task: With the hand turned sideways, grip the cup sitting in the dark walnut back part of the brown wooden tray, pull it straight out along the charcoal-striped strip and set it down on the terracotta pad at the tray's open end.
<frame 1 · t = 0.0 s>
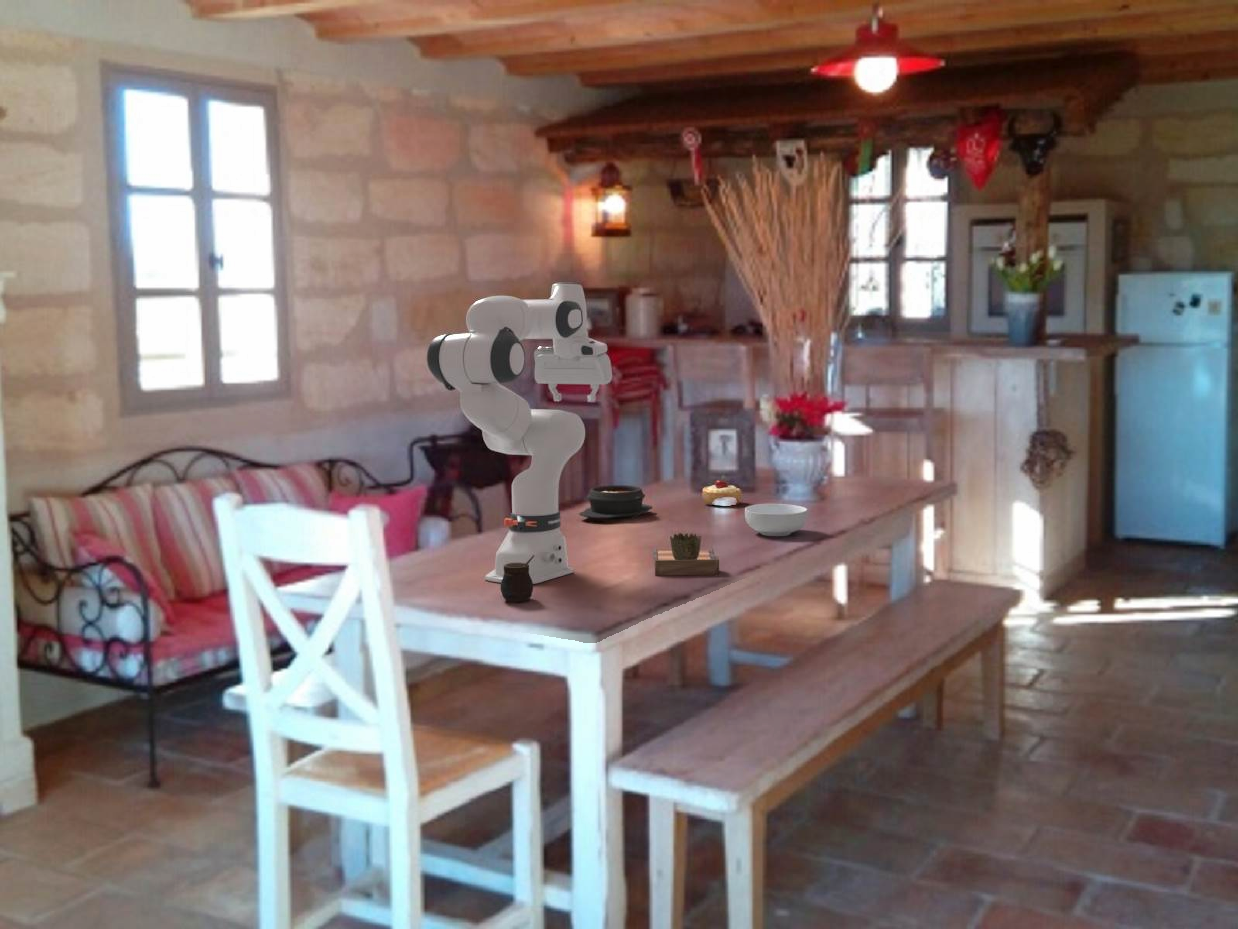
hand: (574, 401, 355), 39 cm above the table, tool pointing down, fingers open, 8 cm apart
brown wooden tray: (685, 568, 339), on the table
cereal bowl: (776, 534, 381), on the table
mate gourd: (517, 601, 309), on the table
pastry: (721, 505, 430), on the table
cup: (685, 569, 339), resting in brown wooden tray
casserole: (616, 517, 412), on the table
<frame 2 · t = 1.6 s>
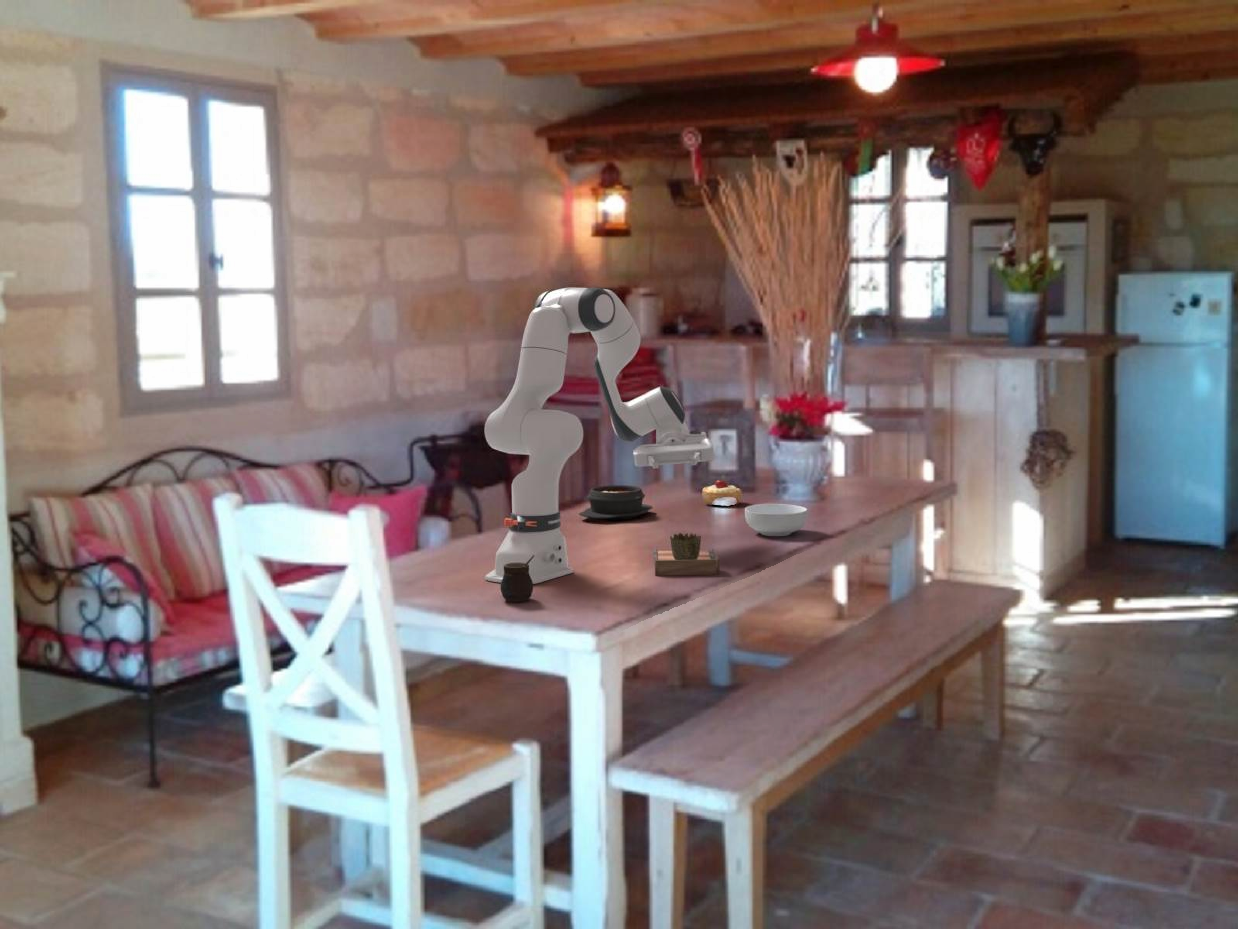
hand: (674, 463, 350), 23 cm above the table, tool horizontal, fingers open, 8 cm apart
nothing on the table moved.
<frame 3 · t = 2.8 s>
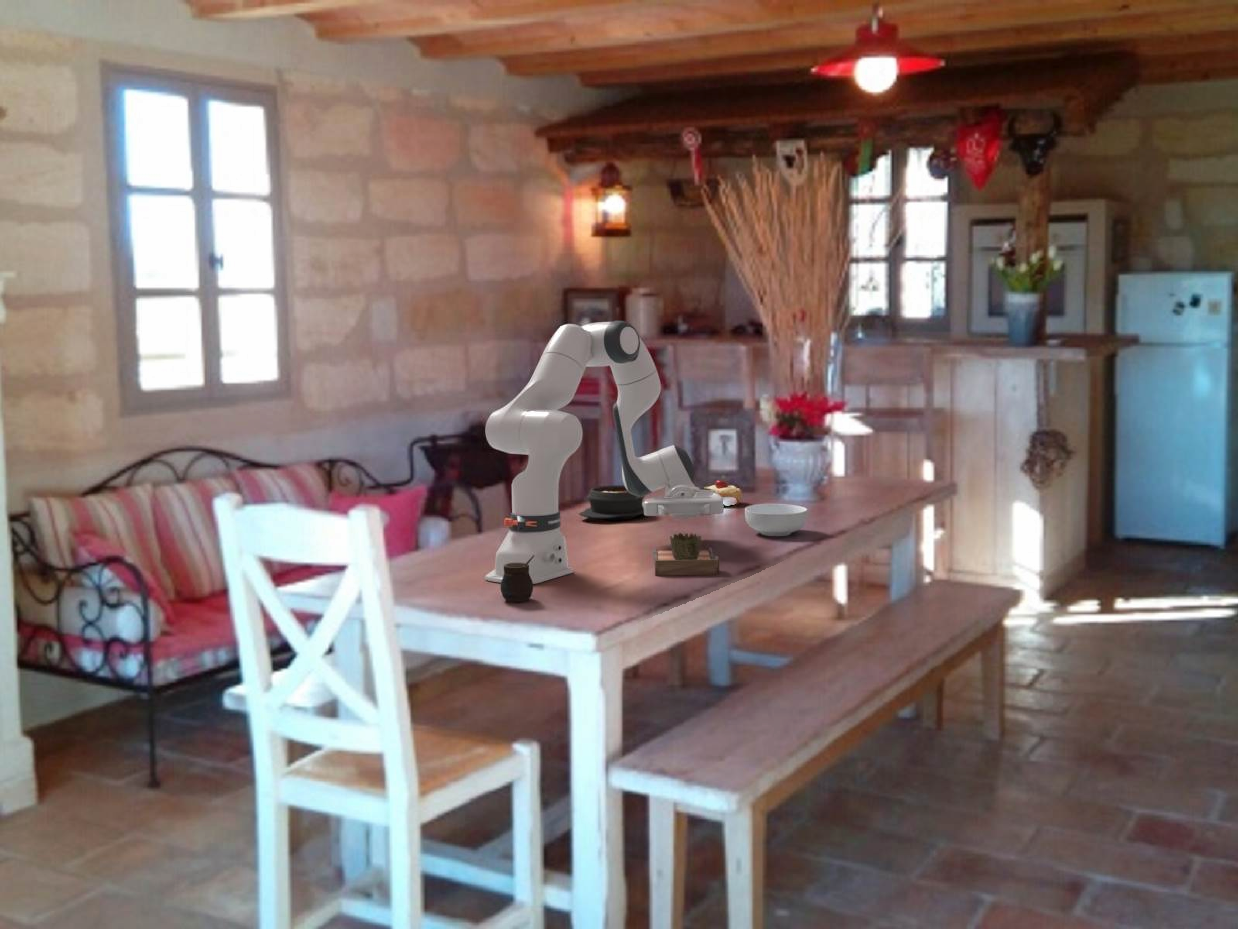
hand: (684, 511, 349), 12 cm above the table, tool horizontal, fingers open, 8 cm apart
nothing on the table moved.
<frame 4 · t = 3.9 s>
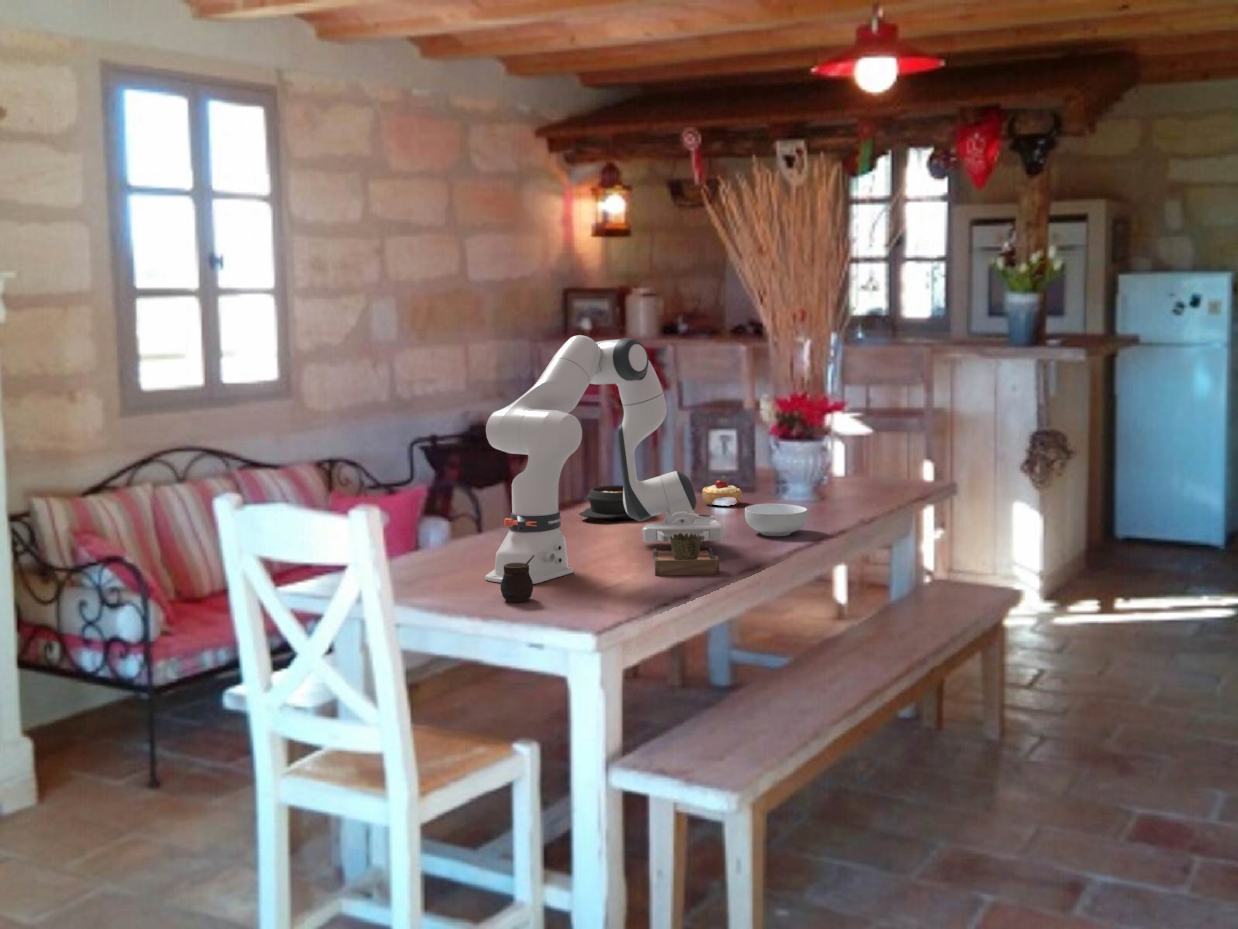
hand: (683, 538, 349), 5 cm above the table, tool horizontal, fingers open, 8 cm apart
nothing on the table moved.
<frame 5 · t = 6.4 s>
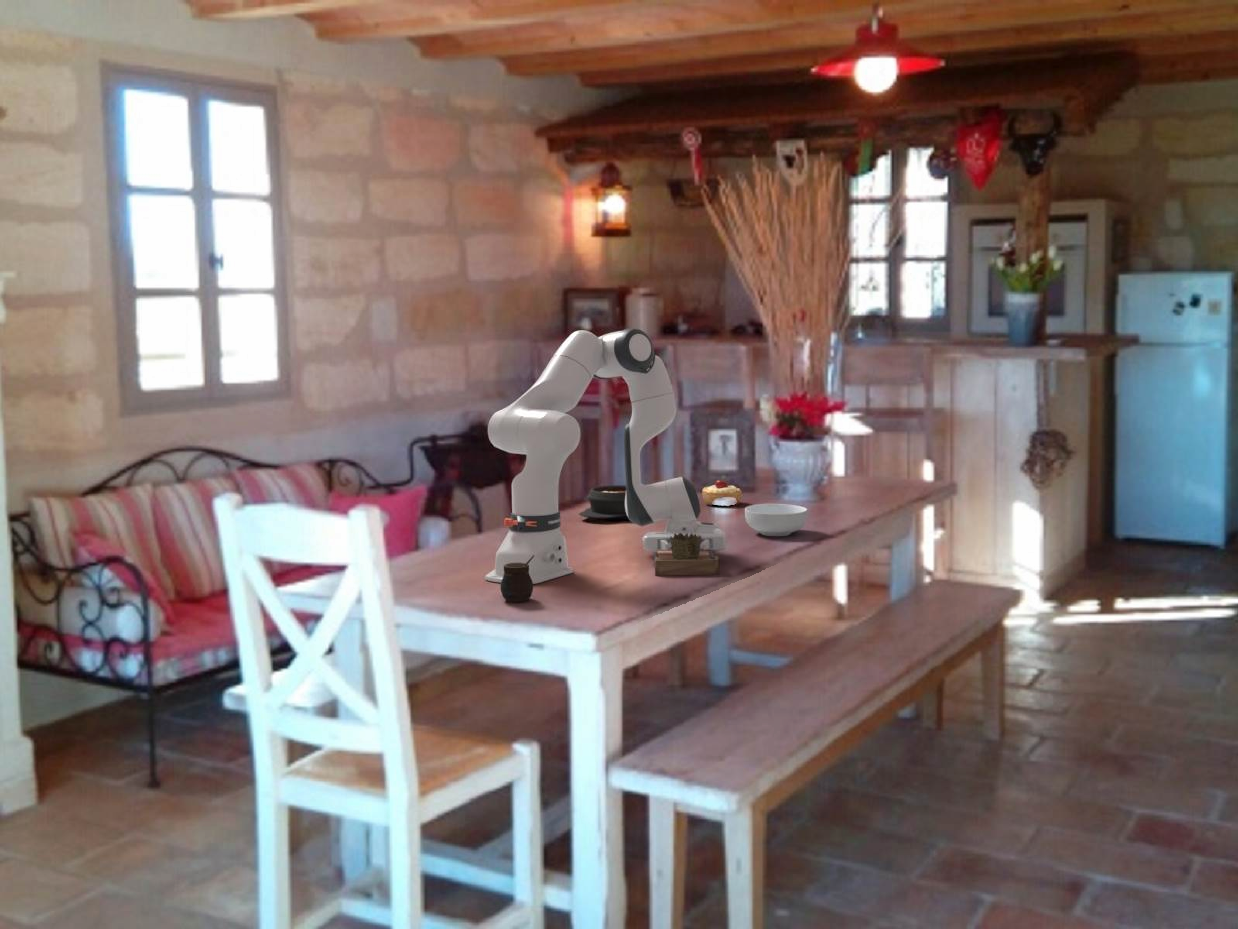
hand: (685, 547, 337), 5 cm above the table, tool horizontal, fingers closed on cup, 7 cm apart
cup: (685, 569, 339), resting in brown wooden tray, touching gripper
everything else where it was.
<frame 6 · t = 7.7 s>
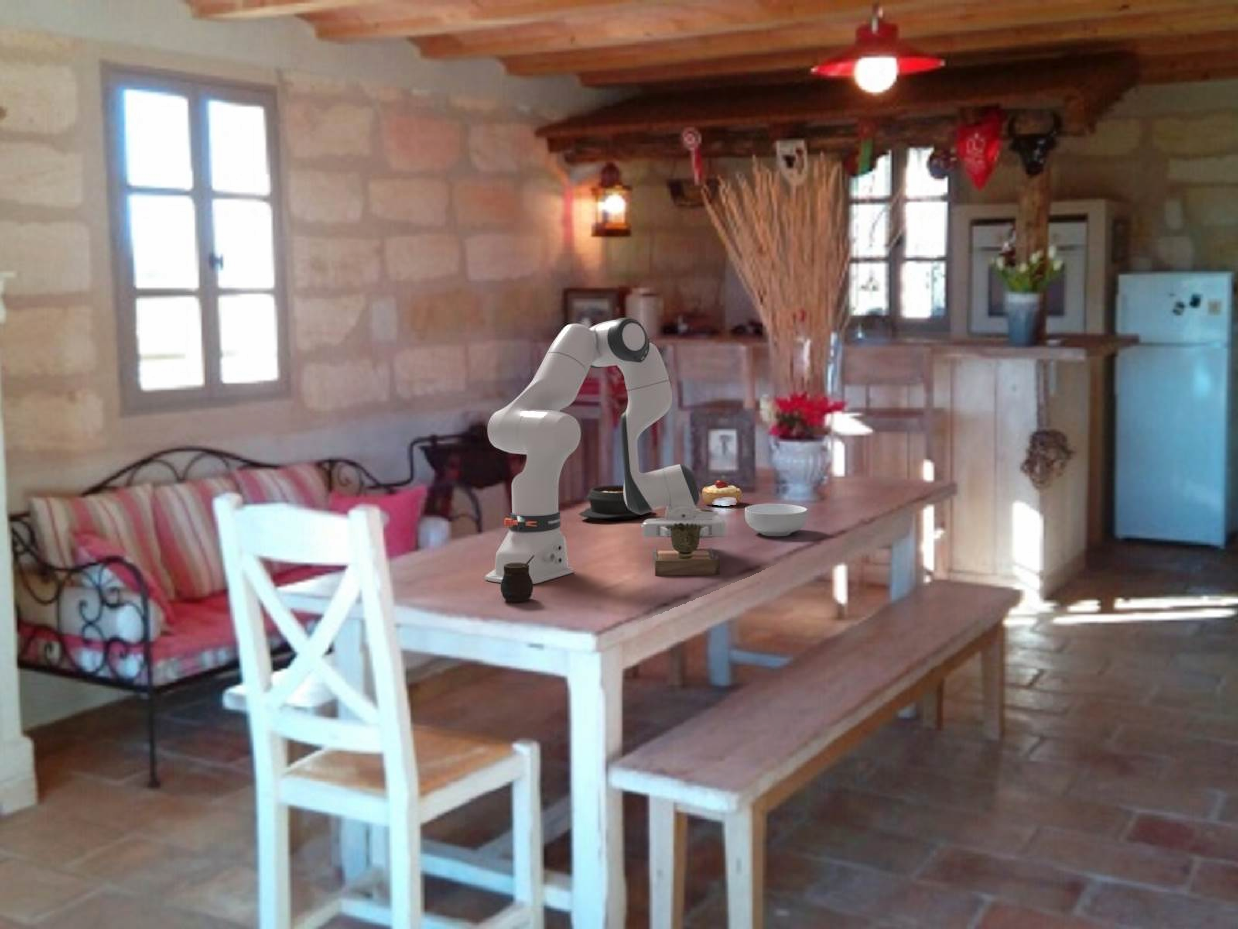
hand: (684, 533, 336), 9 cm above the table, tool horizontal, fingers closed on cup, 7 cm apart
cup: (685, 559, 338), point 2 cm above the table, touching gripper
everything else where it was.
when the fingers open (6 cm above the table, at t = 12.5 s): cup stays where it is, resting on brown wooden tray.
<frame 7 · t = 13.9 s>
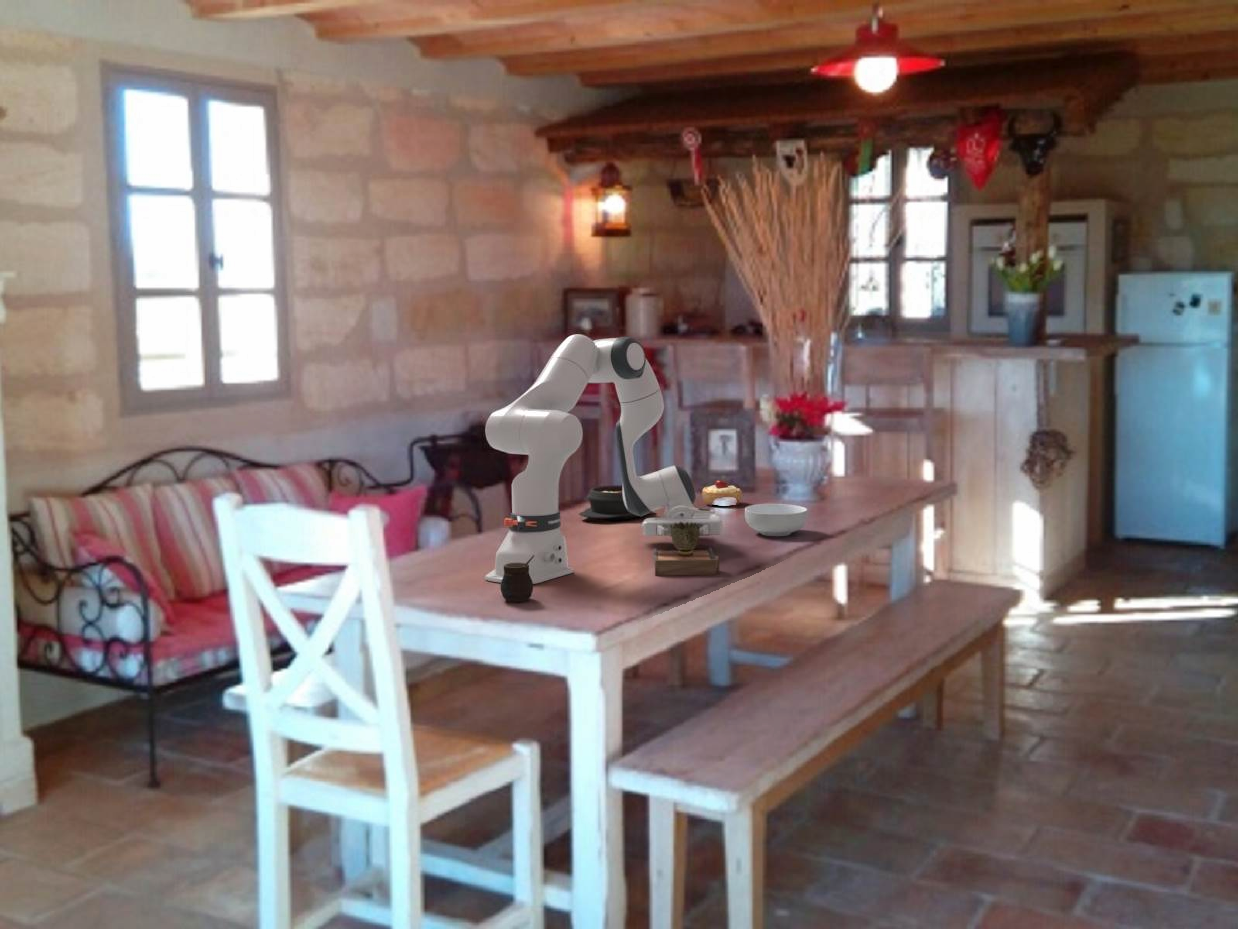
hand: (683, 532, 351), 6 cm above the table, tool horizontal, fingers open, 8 cm apart
cup: (685, 556, 353), resting on brown wooden tray, touching gripper
everything else where it was.
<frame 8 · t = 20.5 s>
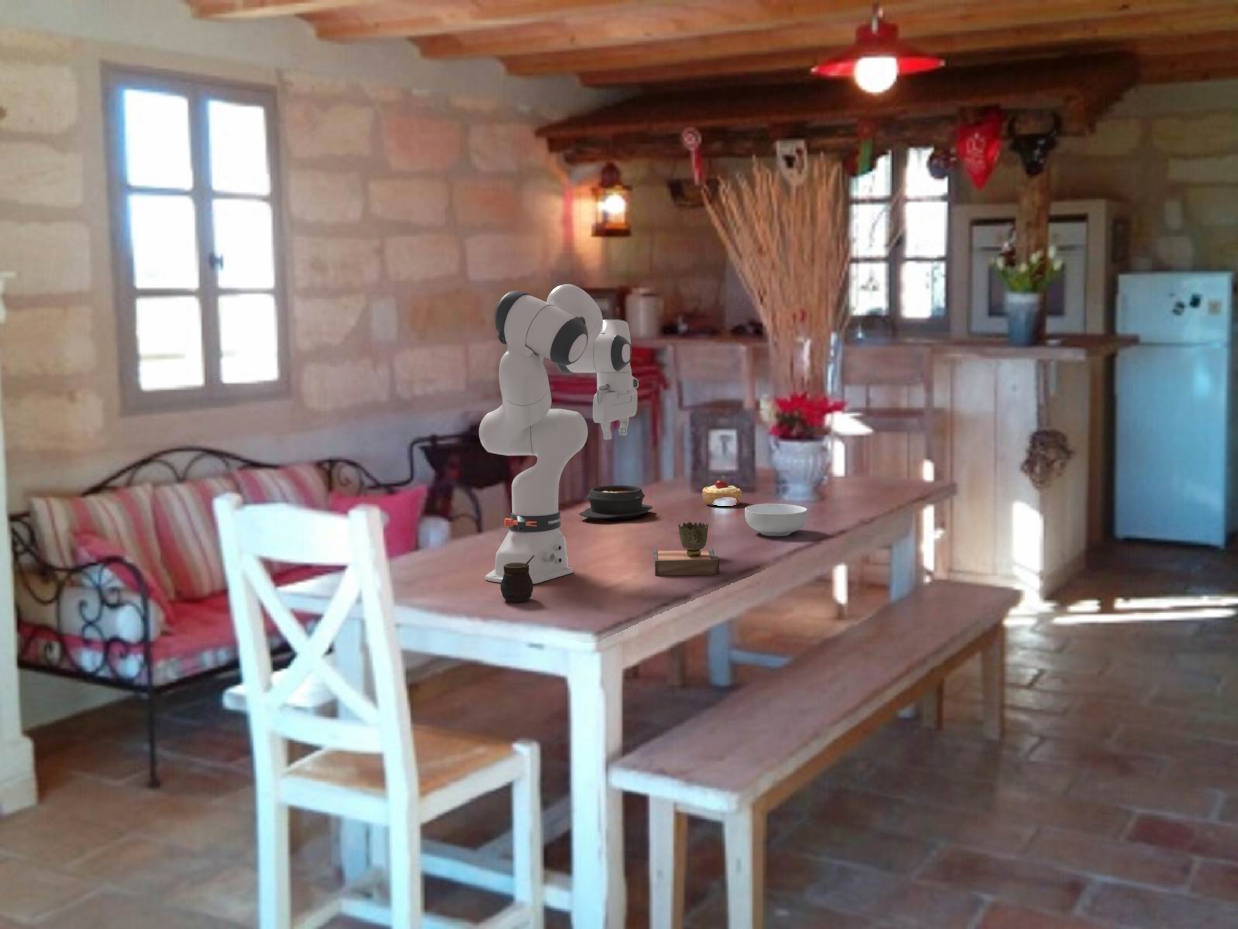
hand: (615, 437, 359), 29 cm above the table, tool pointing down, fingers open, 8 cm apart
cup: (693, 556, 352), resting on brown wooden tray
everything else where it was.
at the end: cup inside the target area (2.4 cm from its centre), resting on brown wooden tray; cup tilted 0°; the gripper is holding nothing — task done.
